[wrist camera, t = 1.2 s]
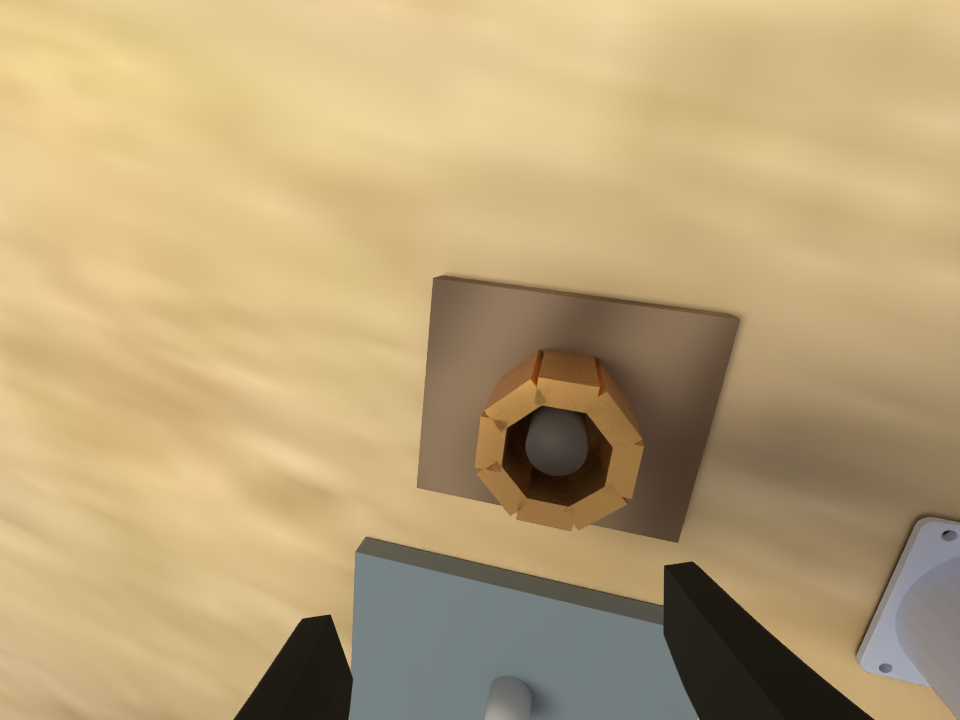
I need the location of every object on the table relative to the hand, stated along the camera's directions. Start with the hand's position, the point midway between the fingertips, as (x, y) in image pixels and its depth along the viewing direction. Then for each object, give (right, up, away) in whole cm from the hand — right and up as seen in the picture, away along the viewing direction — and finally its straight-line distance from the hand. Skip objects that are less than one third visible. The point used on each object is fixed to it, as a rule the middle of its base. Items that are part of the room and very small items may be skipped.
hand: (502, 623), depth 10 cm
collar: (+3, +3, +10) cm, 11 cm away
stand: (+3, +4, +11) cm, 12 cm away
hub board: (+1, -12, +15) cm, 19 cm away
